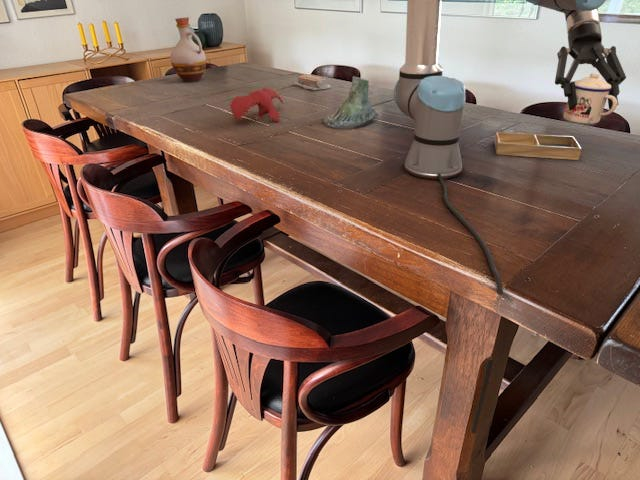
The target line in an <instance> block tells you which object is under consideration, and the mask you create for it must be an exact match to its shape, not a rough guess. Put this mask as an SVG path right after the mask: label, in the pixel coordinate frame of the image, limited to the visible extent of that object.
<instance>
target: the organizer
mask: <svg viewBox="0 0 640 480" xmlns="http://www.w3.org/2000/svg"><path fill="white" fill-rule="evenodd" d="M494 149H495V154H496V155H499V156H500V155H504V156H515V157H531V158H544V159H545V158H546V159H558V160H570V161H571V160H573V161H578V160H579V159H580V156H581V153H582V149H583V148H582V147H581V145H580V144H579V143H578V141H577V139H576V138H575V136H571V135H555V134H554V135H553V134H537V133H521V132H503V131H496V132H495V136H494Z"/></svg>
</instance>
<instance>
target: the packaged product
mask: <svg viewBox="0 0 640 480" xmlns="http://www.w3.org/2000/svg"><path fill="white" fill-rule="evenodd" d="M293 85H294V86H298V87H300V88H303V89H305V90H309V91H315V92H316V91H320V90H326V89H331V84H328V80H327V79H326V78H323V77H320V76H316V75H312V74H310V73H304V74H302V75H299V76H298V77H297V81H296V82H293Z"/></svg>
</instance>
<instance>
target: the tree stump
mask: <svg viewBox="0 0 640 480" xmlns="http://www.w3.org/2000/svg"><path fill="white" fill-rule="evenodd" d="M369 83H370V81H369V79H365V78H361V77H357V76H352V79H351V86H350V90H349V92H348V97H347V99H345V100H344V101H342V102H343V104H342V105H341V106H340V107H339V108H338V109H335V110H334V112H333V113H330V115H329V116H327V117H325V118H324V119H323V121H322V124H323V125H325V126H326V127H328V128H333V129H338V130H339V129H342V130H352V129H358V128H361V127H364V126H367V125H368V124H369V123H371V122H372V121H373V120H375V118H377V117H378V116H379V111H378V110H375V109H373V108H372V105H371V102H370V101H369V87H370V86H369Z"/></svg>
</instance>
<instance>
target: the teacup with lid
mask: <svg viewBox="0 0 640 480" xmlns="http://www.w3.org/2000/svg"><path fill="white" fill-rule="evenodd" d="M574 81H575V88H576V97H577V105H576V106H575V108H574V109H573V110H569V104H568V101H567V102H566V106H565V109H564V112H563V118H564V119H565V120H566V121H569V122H572V123H577V124H584V125H593V124H597V123H599V122H600V120H601V118H602V116H608V115H611V114H612V113H613V112H614V111H615V110H616V108H617V107H618V105H617V99H616V98H615V97H614V96H611V95H608V94H609V91H610V90H611V85H610V84H608V83H607V82H606V81H605V79H602V78H600V73H599V72H591V73H590V74H589V76H586V77H584V78H581V79H576V80H574ZM608 98H609V99H611V100H612V102H613V105H612V108H611V109H610V110H609V109H608V111H607V112H605V111H604V109H605V106H606V103H607V101H608Z"/></svg>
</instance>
